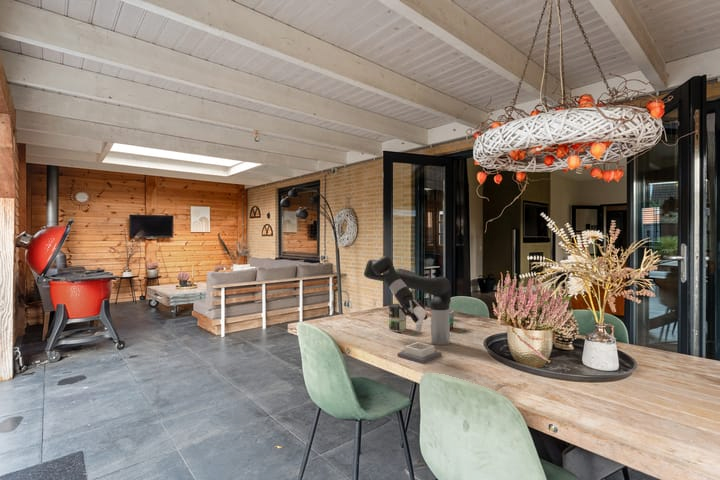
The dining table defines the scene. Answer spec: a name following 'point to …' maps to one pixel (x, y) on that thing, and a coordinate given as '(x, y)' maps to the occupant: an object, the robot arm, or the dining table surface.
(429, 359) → the socket stand
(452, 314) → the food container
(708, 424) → the dining table surface
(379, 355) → the dining table surface
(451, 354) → the dining table surface
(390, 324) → the coffee can
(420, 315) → the lightbulb
